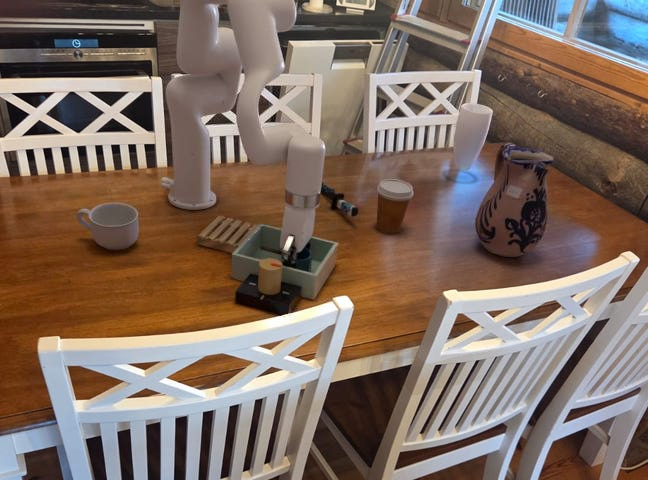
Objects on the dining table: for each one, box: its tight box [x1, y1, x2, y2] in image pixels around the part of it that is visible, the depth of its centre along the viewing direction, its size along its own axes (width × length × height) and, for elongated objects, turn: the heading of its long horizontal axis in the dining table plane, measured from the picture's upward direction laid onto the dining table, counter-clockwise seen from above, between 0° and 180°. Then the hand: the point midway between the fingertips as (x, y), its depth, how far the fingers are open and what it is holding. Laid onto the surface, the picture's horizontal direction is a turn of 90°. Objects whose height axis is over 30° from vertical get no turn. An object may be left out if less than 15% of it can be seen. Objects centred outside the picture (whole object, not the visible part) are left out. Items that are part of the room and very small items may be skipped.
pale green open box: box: [230, 223, 339, 300], centre depth 144 cm, size 20×17×6 cm
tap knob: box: [258, 258, 282, 295], centre depth 132 cm, size 5×5×6 cm
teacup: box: [76, 202, 140, 251], centre depth 145 cm, size 14×11×8 cm
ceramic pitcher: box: [474, 142, 555, 258], centre depth 159 cm, size 18×21×25 cm
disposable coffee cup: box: [376, 178, 415, 234], centre depth 165 cm, size 10×10×12 cm
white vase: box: [452, 102, 494, 172], centre depth 196 cm, size 10×10×22 cm
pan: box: [260, 246, 312, 272], centre depth 144 cm, size 12×7×5 cm, turn 73°
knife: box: [320, 181, 359, 218], centre depth 176 cm, size 31×3×4 cm, turn 20°
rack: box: [197, 215, 259, 254], centre depth 153 cm, size 12×12×3 cm
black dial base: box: [234, 273, 302, 316], centre depth 134 cm, size 12×9×3 cm
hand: (295, 266), depth 144 cm, fingers open, 9 cm apart
